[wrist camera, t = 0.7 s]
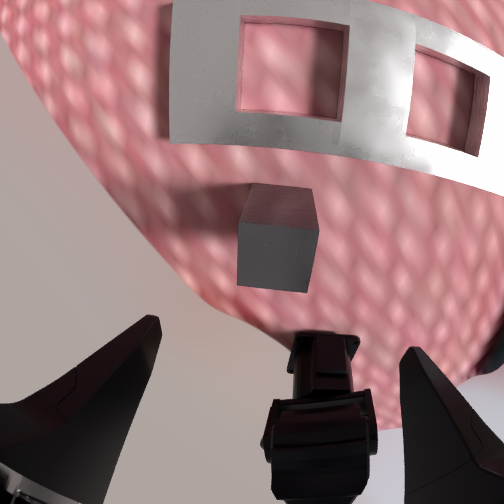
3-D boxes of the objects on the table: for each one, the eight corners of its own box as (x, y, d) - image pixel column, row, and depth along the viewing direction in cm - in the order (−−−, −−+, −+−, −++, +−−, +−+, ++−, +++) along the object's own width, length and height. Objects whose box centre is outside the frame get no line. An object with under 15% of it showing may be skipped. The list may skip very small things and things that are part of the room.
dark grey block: (304, 239, 21) (307, 292, 16) (250, 234, 21) (236, 285, 16) (311, 188, 19) (319, 230, 14) (252, 182, 19) (238, 222, 14)
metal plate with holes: (492, 186, 16) (506, 196, 14) (181, 137, 18) (169, 143, 16) (512, 71, 11) (527, 74, 9) (184, 0, 13) (173, -8, 11)
